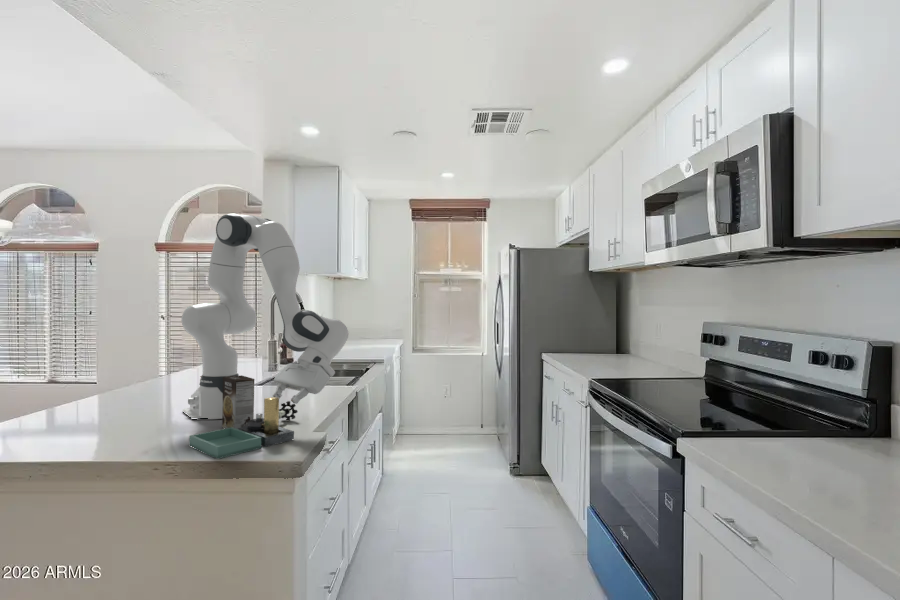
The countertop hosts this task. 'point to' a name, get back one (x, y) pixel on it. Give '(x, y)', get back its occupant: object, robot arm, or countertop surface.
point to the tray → (225, 442)
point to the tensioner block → (266, 440)
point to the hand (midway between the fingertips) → (284, 400)
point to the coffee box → (237, 401)
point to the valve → (287, 411)
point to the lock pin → (271, 415)
